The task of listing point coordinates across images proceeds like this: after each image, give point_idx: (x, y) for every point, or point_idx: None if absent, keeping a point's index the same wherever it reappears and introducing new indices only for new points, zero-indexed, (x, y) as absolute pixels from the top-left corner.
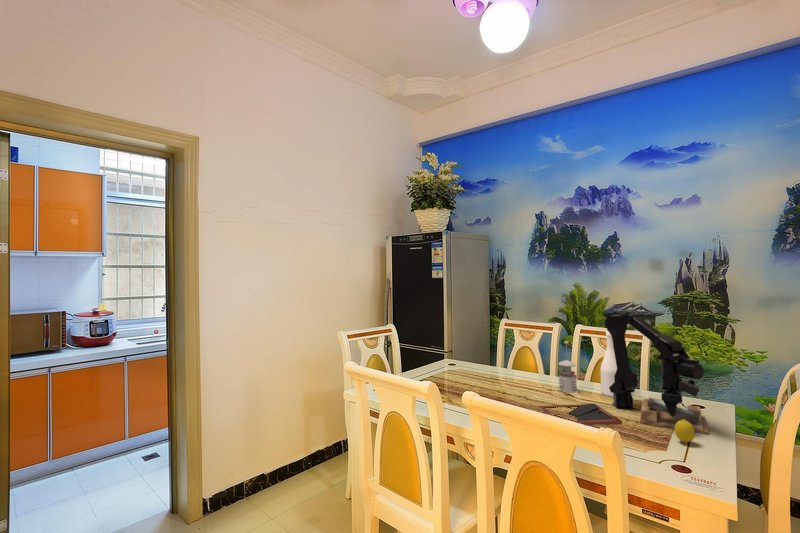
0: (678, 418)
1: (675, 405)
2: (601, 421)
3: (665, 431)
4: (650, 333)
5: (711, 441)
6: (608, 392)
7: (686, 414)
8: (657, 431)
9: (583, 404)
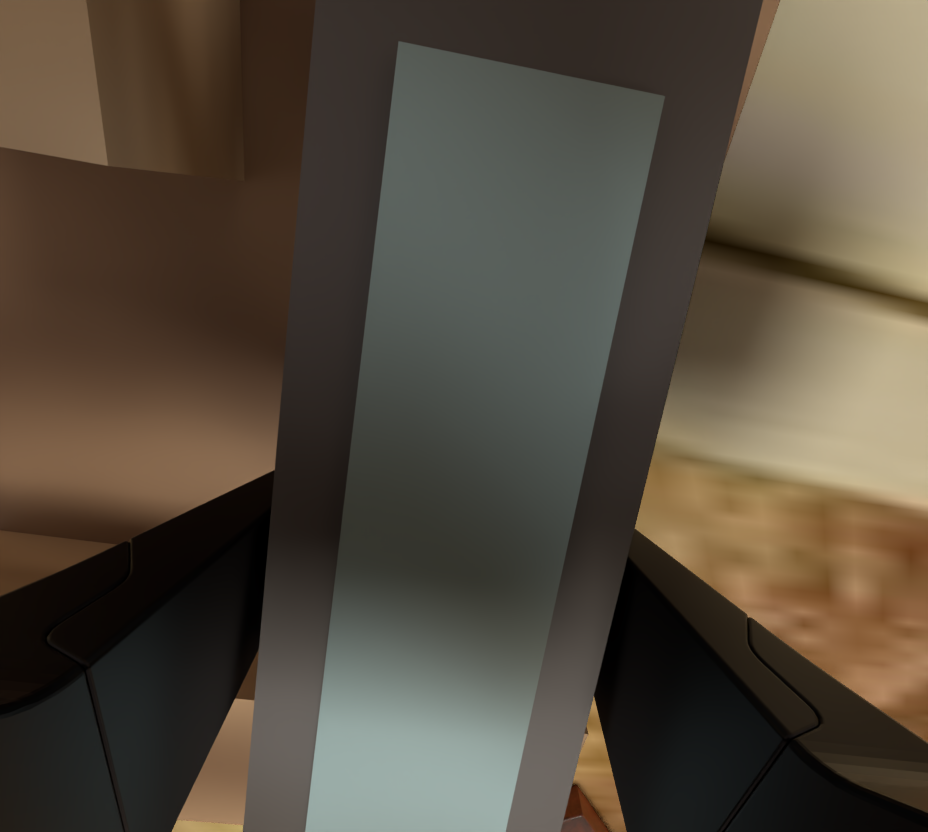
0: (232, 326)
1: (883, 750)
2: None
3: (711, 522)
4: None
5: None
6: None
7: (674, 320)
8: (723, 587)
9: None
